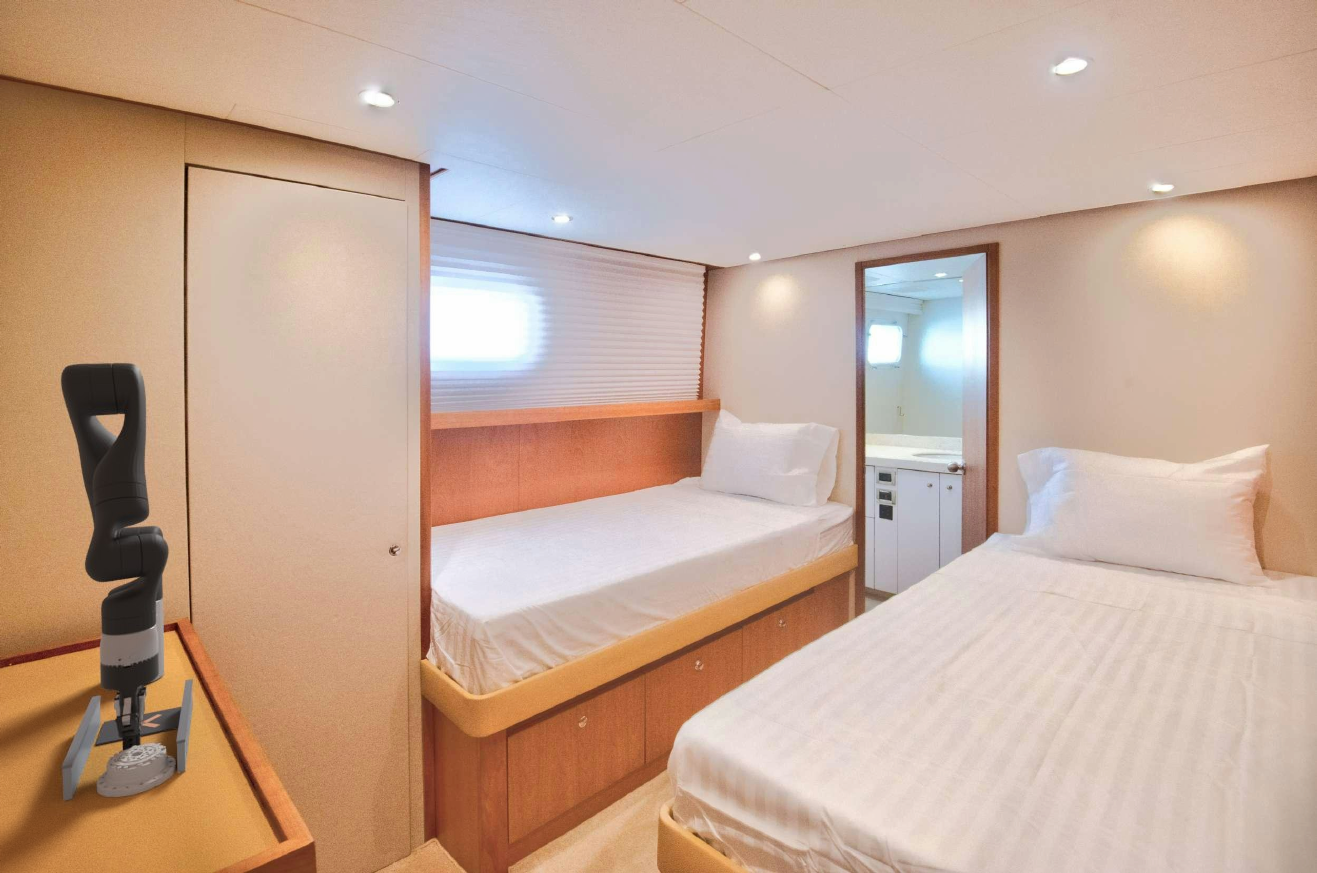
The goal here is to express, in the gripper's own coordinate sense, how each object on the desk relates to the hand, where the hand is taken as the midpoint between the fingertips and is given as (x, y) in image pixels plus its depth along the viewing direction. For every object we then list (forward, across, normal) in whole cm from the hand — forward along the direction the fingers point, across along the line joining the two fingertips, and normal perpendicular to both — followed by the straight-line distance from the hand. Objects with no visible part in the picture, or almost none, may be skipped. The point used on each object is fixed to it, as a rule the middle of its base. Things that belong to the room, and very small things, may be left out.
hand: (131, 753), depth 108 cm
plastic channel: (+2, -6, 0) cm, 6 cm away
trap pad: (+2, -14, 0) cm, 14 cm away
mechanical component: (+2, +6, +1) cm, 6 cm away
